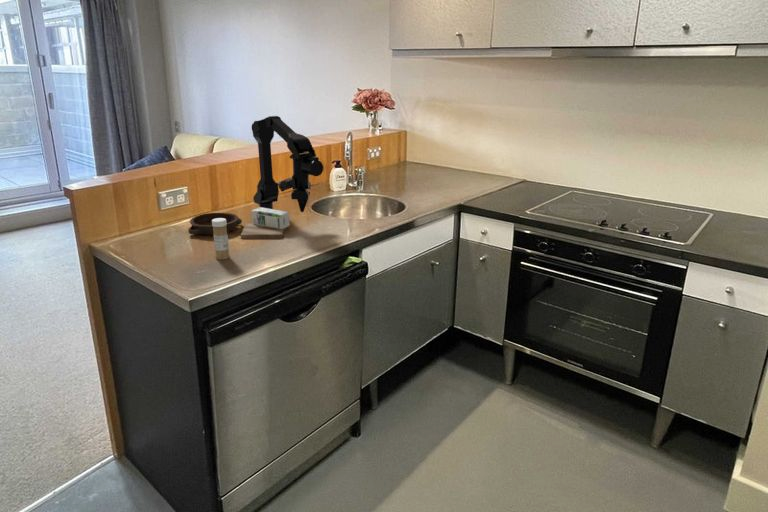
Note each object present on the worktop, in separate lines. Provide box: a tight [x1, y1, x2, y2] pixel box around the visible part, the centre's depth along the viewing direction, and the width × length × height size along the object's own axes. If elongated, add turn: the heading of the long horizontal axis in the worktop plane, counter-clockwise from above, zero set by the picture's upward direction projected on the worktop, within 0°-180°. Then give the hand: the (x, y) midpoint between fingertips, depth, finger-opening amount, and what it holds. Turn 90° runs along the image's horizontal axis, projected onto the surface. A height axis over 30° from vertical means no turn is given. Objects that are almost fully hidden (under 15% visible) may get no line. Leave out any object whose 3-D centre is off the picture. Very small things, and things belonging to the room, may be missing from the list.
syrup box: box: [250, 206, 291, 229], centre depth 206 cm, size 6×6×14 cm
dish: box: [187, 212, 243, 236], centre depth 203 cm, size 18×22×5 cm
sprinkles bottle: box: [212, 218, 230, 261], centre depth 174 cm, size 5×5×13 cm
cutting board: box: [240, 221, 286, 239], centre depth 203 cm, size 16×15×2 cm
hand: (302, 211), depth 203 cm, fingers closed
